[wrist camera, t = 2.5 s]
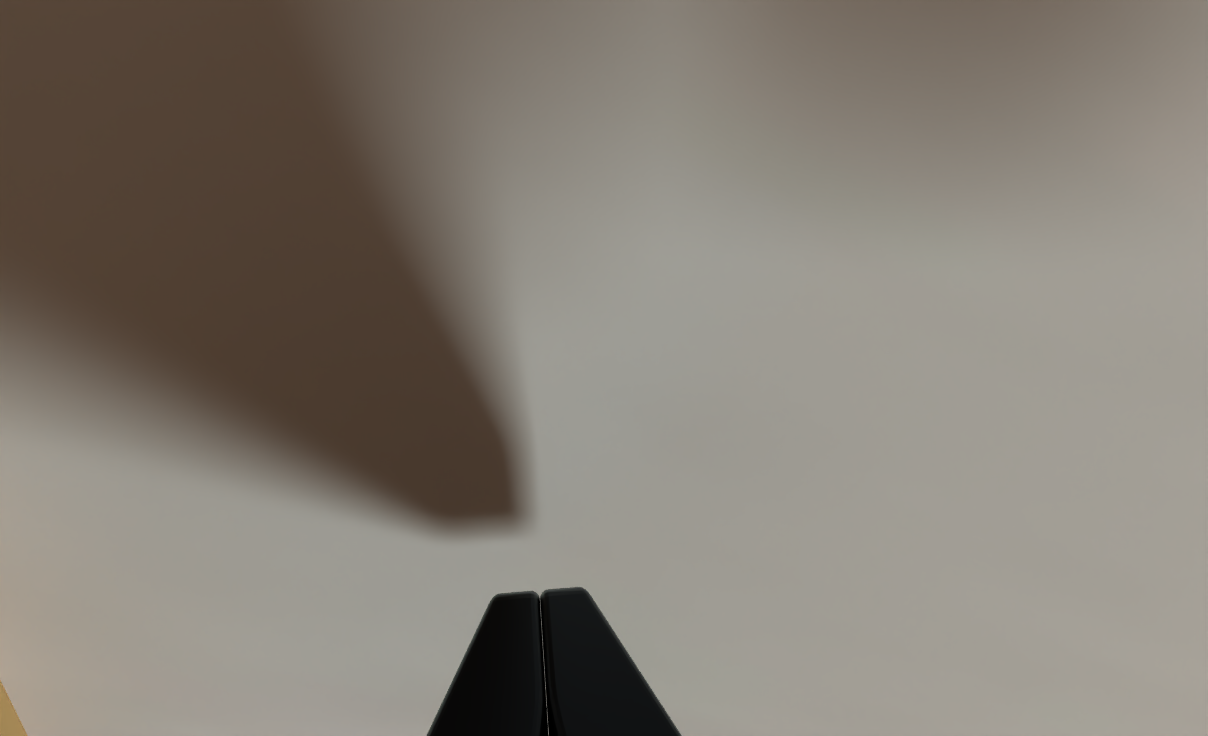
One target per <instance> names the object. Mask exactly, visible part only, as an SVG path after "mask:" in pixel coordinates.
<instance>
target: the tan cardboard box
mask: <svg viewBox="0 0 1208 736" xmlns="http://www.w3.org/2000/svg"><path fill="white" fill-rule="evenodd" d="M0 736H27V734H26V732H25V730H24V728H23V726H22V723H21V721H20V719H19V717H18V715H17V713H16V711H15V709H14V707H13V705H12V703H11V701H10V699H9V697H8V695H7V693H6V691H5V689H4V687H3V685H2V683H1V680H0Z"/></svg>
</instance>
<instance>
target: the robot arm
mask: <svg viewBox="0 0 1208 736" xmlns="http://www.w3.org/2000/svg"><path fill="white" fill-rule="evenodd" d="M540 603H541V612H540ZM541 619H542V628H541ZM542 635H543V643H542ZM543 650H544V659H543ZM544 666H545V675H544ZM545 682H546V690H545ZM546 697H547V706H546ZM547 713H548V722H547ZM548 728H549V736H681V734H680V733H679V731H678V729H677V728H676V726H675V725H674V723H673V722H672V720H671V719H670V717H669V716H668V714H667V712H666V711H665V709H664V708H663V706H662V705H661V703H660V702H659V700H658V699H657V697H656V695H655V694H654V692H653V691H652V689H651V688H650V686H649V685H648V683H647V682H646V680H645V679H644V677H643V675H642V674H641V672H640V671H639V669H638V668H637V666H636V665H635V663H634V662H633V660H632V658H631V657H630V655H629V654H628V652H627V651H626V649H625V648H624V646H623V645H622V643H621V642H620V640H619V638H618V637H617V635H616V634H615V632H614V631H613V629H612V628H611V626H610V625H609V623H608V621H607V620H606V618H605V617H604V615H603V614H602V612H601V611H600V609H599V608H598V606H597V604H596V603H595V601H594V600H593V598H592V597H591V595H590V594H589V593H588V592H587V591H586V590H585V589H584V588H582V587H572V588H560V589H548V590H545V591H544V592H542V594H541V597H540V598H539V595H538V594H537V593H536V592H534V591H524V592H512V593H501V594H497V595H495V596H494V597H493V598H492V600H491V601H490V603H489V605H488V607H487V609H486V611H485V613H484V615H483V617H482V620H481V622H480V624H479V626H478V628H477V630H476V632H475V634H474V636H473V639H472V641H471V643H470V645H469V647H468V649H467V651H466V653H465V656H464V658H463V660H462V662H461V664H460V666H459V668H458V670H457V672H456V675H455V677H454V679H453V681H452V683H451V685H450V687H449V689H448V691H447V694H446V696H445V698H444V700H443V702H442V704H441V706H440V708H439V710H438V713H437V715H436V717H435V719H434V721H433V723H432V725H431V727H430V730H429V732H428V734H427V736H548Z"/></svg>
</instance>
